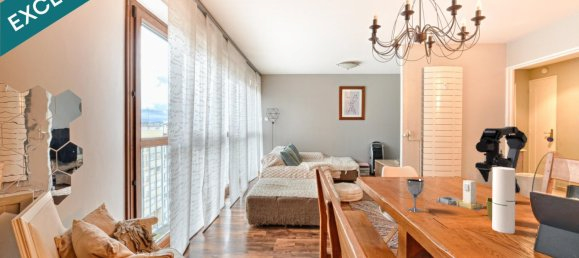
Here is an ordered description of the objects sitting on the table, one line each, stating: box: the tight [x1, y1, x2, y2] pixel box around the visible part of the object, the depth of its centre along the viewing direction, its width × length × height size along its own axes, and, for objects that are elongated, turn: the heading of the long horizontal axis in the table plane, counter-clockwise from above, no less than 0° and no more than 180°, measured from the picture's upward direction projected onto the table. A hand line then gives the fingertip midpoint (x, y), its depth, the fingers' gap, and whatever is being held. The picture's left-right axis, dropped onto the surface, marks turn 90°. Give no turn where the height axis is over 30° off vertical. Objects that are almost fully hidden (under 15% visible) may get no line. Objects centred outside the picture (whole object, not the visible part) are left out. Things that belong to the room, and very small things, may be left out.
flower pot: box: [485, 196, 492, 222], centre depth 119 cm, size 9×9×9 cm
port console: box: [435, 196, 487, 211], centre depth 142 cm, size 12×20×3 cm, turn 41°
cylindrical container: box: [491, 167, 516, 235], centre depth 108 cm, size 7×7×25 cm
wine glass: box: [406, 178, 425, 213], centre depth 134 cm, size 8×8×15 cm
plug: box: [462, 179, 477, 204], centre depth 138 cm, size 4×4×13 cm
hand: (492, 181), depth 142 cm, fingers open, 9 cm apart
